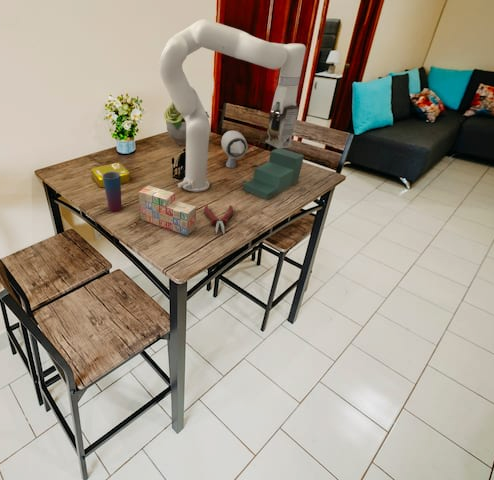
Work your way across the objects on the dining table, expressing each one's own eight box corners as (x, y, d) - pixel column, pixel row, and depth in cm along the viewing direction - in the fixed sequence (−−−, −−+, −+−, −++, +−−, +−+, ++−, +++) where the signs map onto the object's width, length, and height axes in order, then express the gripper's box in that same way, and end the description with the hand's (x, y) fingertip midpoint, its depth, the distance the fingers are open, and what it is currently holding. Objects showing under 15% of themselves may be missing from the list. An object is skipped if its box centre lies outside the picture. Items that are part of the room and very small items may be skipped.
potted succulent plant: (185, 133, 215) (186, 92, 200) (214, 143, 199) (217, 100, 185) (155, 142, 202) (153, 99, 188) (182, 154, 186) (183, 108, 172)
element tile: (91, 176, 164) (90, 167, 161) (120, 170, 169) (119, 161, 167) (101, 188, 153) (99, 178, 150) (131, 181, 159) (130, 172, 156)
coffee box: (264, 142, 144) (271, 102, 135) (276, 140, 146) (284, 101, 137) (277, 149, 137) (286, 107, 128) (290, 147, 139) (299, 106, 130)
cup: (115, 203, 142) (111, 169, 133) (127, 208, 138) (123, 174, 130) (103, 209, 138) (98, 175, 129) (115, 214, 134) (110, 180, 125)
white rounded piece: (210, 172, 166) (212, 137, 156) (222, 158, 180) (225, 125, 170) (240, 177, 161) (244, 142, 150) (250, 162, 175) (255, 129, 165)
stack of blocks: (195, 228, 125) (197, 199, 118) (187, 236, 121) (187, 206, 114) (149, 212, 135) (148, 184, 128) (140, 219, 131) (138, 191, 124)
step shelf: (266, 199, 143) (271, 171, 135) (242, 189, 151) (245, 162, 143) (298, 182, 156) (304, 155, 149) (273, 173, 164) (278, 147, 157)
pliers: (204, 236, 121) (204, 230, 119) (204, 208, 137) (204, 203, 136) (236, 238, 120) (237, 232, 119) (232, 209, 136) (232, 204, 135)
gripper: (292, 76, 134) (284, 121, 145) (267, 83, 125) (260, 130, 135) (309, 79, 130) (300, 125, 140) (284, 86, 121) (276, 134, 131)
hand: (280, 127), depth 138 cm, fingers closed on coffee box, 7 cm apart
